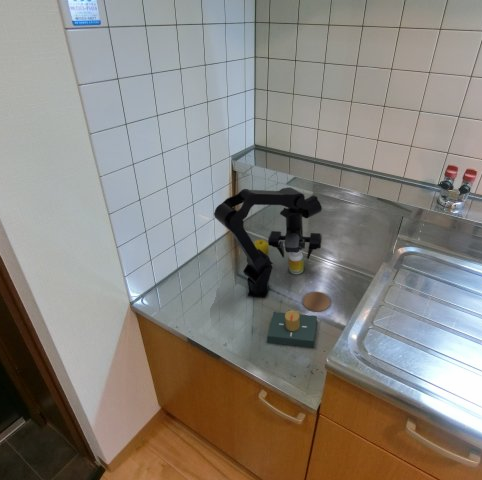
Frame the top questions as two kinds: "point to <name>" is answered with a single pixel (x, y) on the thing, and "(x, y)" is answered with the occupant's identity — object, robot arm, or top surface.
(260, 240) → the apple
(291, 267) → the supplement bottle
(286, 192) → the robot arm
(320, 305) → the coaster
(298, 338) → the green dial base
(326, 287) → the top surface
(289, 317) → the tap knob
